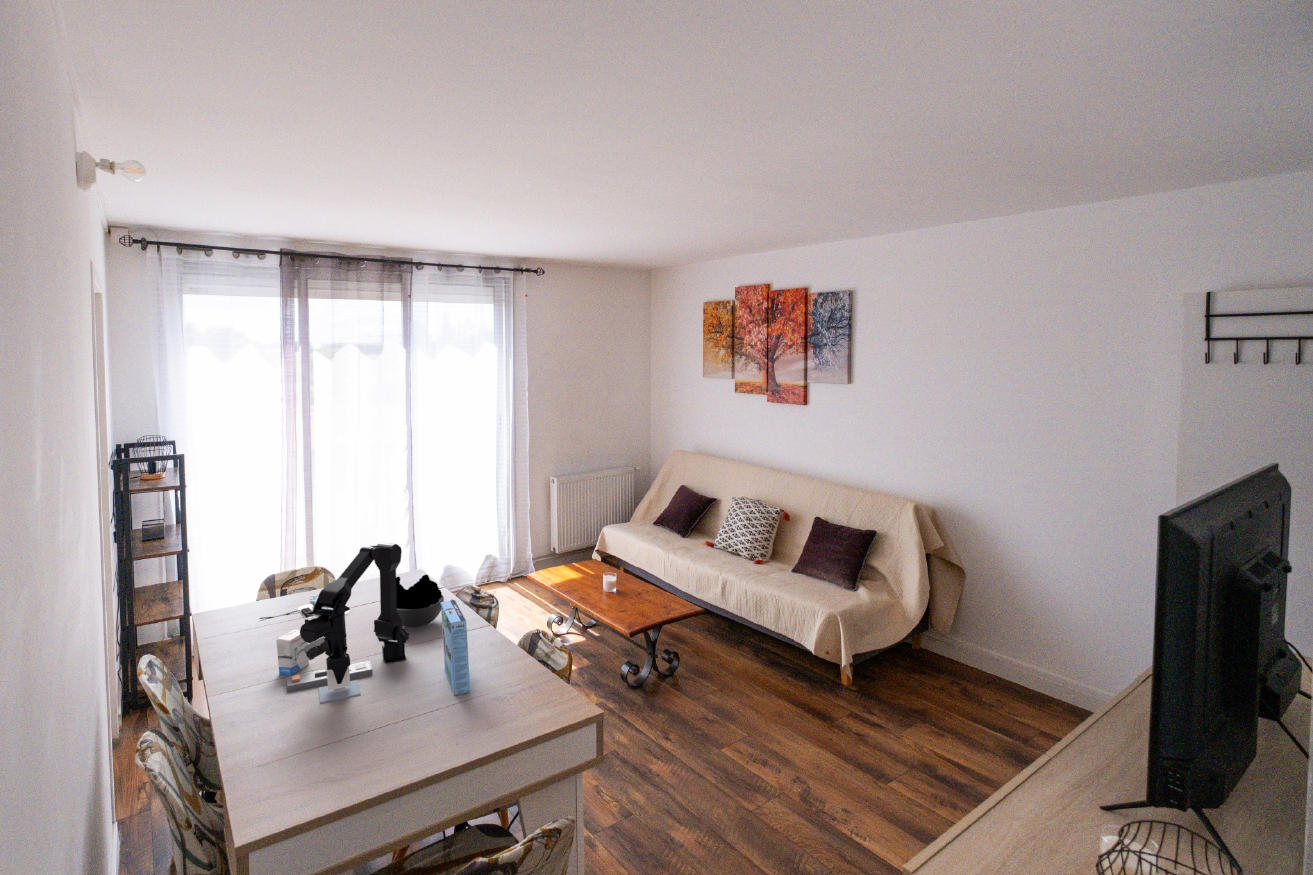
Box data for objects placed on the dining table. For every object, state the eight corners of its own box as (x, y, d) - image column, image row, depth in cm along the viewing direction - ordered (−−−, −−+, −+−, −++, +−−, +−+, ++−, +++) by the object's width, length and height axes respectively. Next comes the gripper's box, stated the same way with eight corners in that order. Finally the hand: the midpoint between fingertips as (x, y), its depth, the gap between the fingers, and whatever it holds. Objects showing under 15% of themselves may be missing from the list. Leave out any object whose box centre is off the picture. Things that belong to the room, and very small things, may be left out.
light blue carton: (470, 692, 212) (467, 620, 209) (453, 696, 210) (449, 623, 207) (459, 666, 230) (456, 599, 227) (443, 669, 228) (440, 601, 225)
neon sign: (255, 606, 274) (335, 589, 292) (256, 617, 274) (336, 599, 293) (267, 622, 257) (351, 603, 276) (268, 633, 258) (352, 614, 277)
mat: (357, 681, 220) (357, 679, 220) (360, 695, 211) (360, 693, 211) (318, 689, 215) (318, 687, 215) (320, 704, 206) (319, 702, 206)
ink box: (291, 675, 224) (289, 640, 222) (278, 674, 225) (275, 639, 223) (310, 663, 232) (307, 629, 231) (297, 662, 233) (294, 628, 232)
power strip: (370, 666, 230) (369, 658, 230) (372, 675, 224) (371, 666, 224) (287, 682, 219) (286, 674, 219) (287, 692, 213) (286, 683, 213)
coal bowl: (456, 622, 266) (454, 574, 264) (412, 641, 249) (409, 590, 247) (421, 612, 277) (418, 565, 274) (377, 629, 260) (374, 580, 258)
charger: (349, 685, 216) (347, 653, 215) (350, 691, 212) (348, 659, 211) (328, 689, 213) (325, 657, 212) (328, 696, 210) (326, 663, 208)
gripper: (304, 623, 215) (308, 671, 217) (305, 646, 198) (309, 698, 200) (344, 616, 220) (347, 664, 222) (348, 638, 204) (352, 689, 206)
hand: (338, 678), depth 212 cm, fingers open, 7 cm apart
